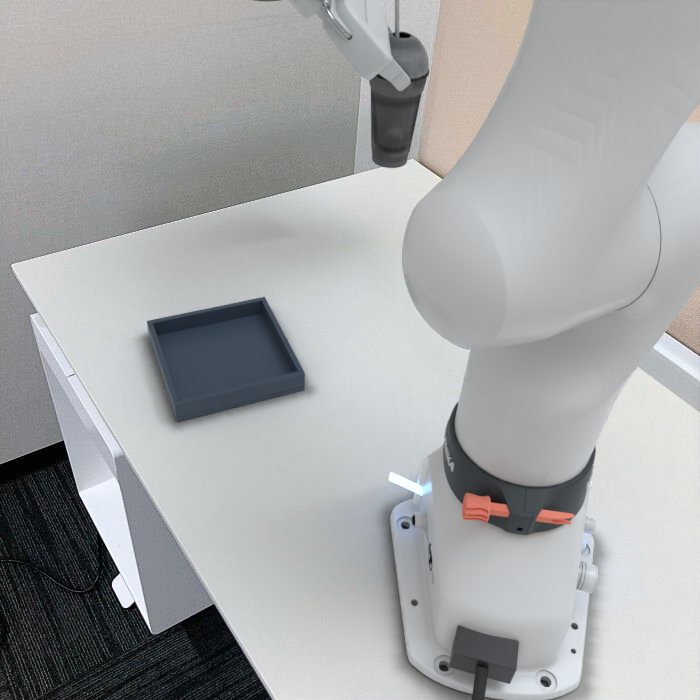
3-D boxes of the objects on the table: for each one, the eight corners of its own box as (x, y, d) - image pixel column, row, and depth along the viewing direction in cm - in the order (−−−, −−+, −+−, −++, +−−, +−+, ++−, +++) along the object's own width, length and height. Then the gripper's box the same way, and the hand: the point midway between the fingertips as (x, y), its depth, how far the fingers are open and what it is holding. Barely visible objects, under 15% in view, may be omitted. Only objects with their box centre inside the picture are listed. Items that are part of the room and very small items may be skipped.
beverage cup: (396, 179, 90) (415, 7, 77) (349, 160, 93) (359, -9, 80) (428, 158, 95) (451, -8, 81) (382, 140, 98) (397, -23, 84)
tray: (304, 390, 82) (305, 373, 80) (176, 422, 77) (174, 405, 75) (265, 313, 91) (264, 296, 89) (149, 337, 87) (146, 320, 85)
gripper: (344, -18, 70) (432, 88, 77) (343, -70, 86) (417, 22, 92) (296, 28, 73) (386, 126, 80) (304, -30, 88) (379, 56, 95)
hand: (403, 70), depth 86 cm, fingers closed on beverage cup, 7 cm apart
